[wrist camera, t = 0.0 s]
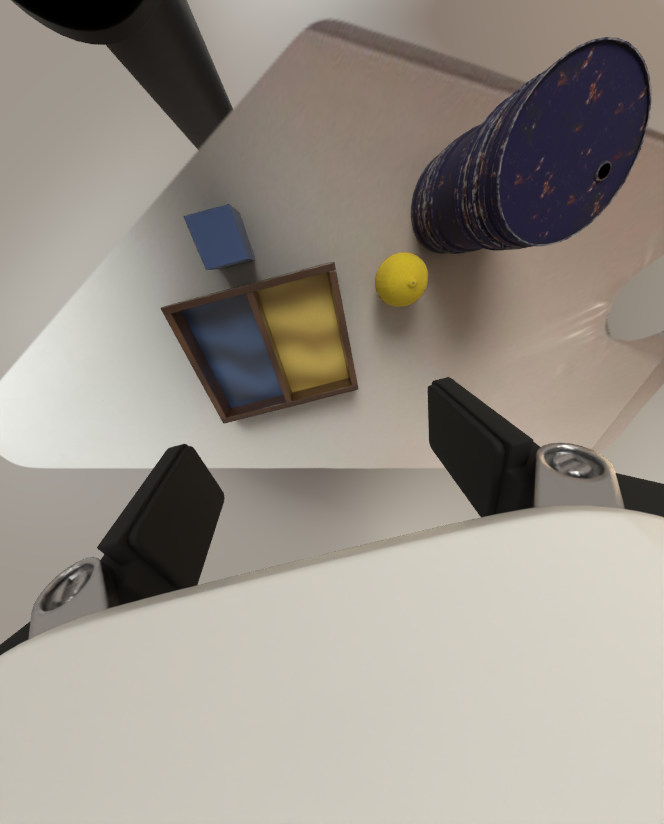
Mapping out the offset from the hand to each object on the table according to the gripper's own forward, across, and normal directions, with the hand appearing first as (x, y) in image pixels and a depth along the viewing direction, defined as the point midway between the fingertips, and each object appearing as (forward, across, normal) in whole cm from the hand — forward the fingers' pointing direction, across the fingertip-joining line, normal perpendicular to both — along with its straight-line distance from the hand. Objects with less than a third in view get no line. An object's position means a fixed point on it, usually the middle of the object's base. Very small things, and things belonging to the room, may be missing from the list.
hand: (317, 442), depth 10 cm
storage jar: (+28, -20, -8) cm, 35 cm away
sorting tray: (+28, +5, +3) cm, 28 cm away
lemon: (+28, -12, -2) cm, 30 cm away
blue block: (+28, +6, -10) cm, 30 cm away
